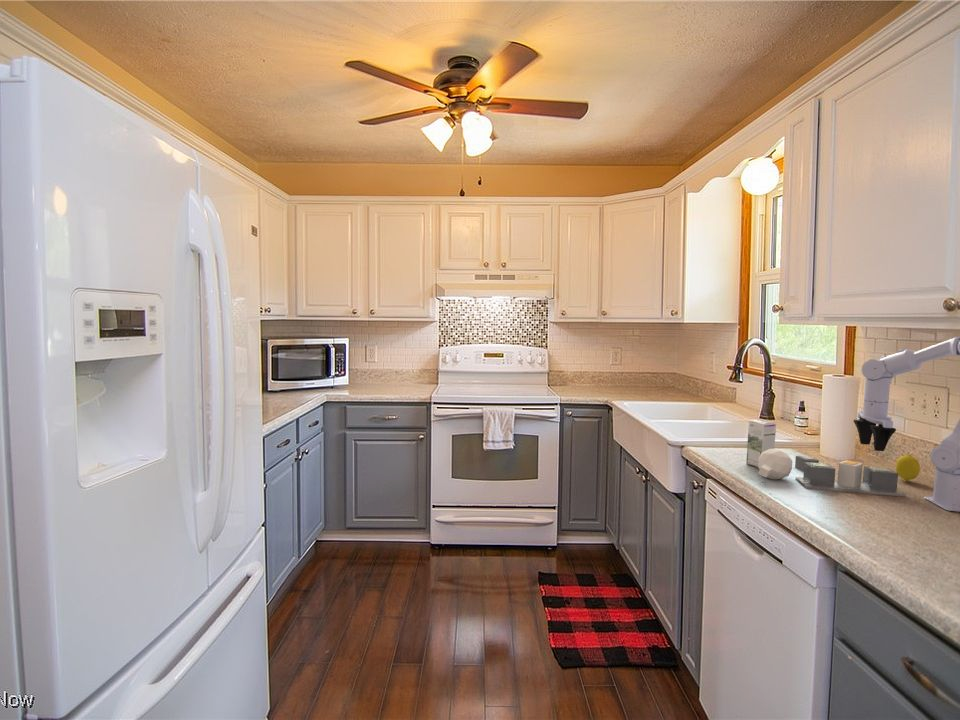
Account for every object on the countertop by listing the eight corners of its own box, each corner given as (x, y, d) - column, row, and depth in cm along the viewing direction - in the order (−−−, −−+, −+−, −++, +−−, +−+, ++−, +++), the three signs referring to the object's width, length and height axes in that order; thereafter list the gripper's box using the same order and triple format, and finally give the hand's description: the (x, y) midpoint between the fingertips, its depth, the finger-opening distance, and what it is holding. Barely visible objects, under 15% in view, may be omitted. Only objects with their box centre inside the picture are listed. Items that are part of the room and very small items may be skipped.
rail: (905, 496, 140) (907, 474, 139) (805, 488, 145) (807, 467, 144) (889, 487, 147) (891, 466, 147) (795, 479, 153) (796, 459, 152)
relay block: (817, 473, 160) (819, 459, 160) (805, 472, 160) (806, 459, 160) (807, 468, 165) (808, 455, 165) (794, 468, 165) (795, 455, 165)
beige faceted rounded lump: (762, 464, 161) (743, 476, 154) (772, 439, 157) (754, 450, 150) (791, 479, 155) (773, 492, 148) (802, 453, 151) (785, 465, 144)
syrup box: (774, 467, 165) (777, 422, 164) (760, 469, 163) (763, 423, 162) (758, 462, 170) (761, 418, 169) (745, 464, 168) (748, 419, 167)
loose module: (860, 484, 147) (862, 462, 146) (853, 487, 144) (855, 465, 143) (844, 480, 150) (846, 459, 149) (837, 483, 147) (839, 462, 146)
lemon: (893, 477, 157) (895, 451, 157) (916, 480, 154) (919, 453, 154) (896, 482, 152) (898, 455, 152) (920, 485, 150) (923, 458, 149)
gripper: (907, 406, 143) (902, 454, 144) (877, 397, 157) (873, 442, 159) (878, 404, 145) (873, 453, 146) (851, 396, 159) (847, 440, 160)
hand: (871, 447), depth 152 cm, fingers open, 7 cm apart
